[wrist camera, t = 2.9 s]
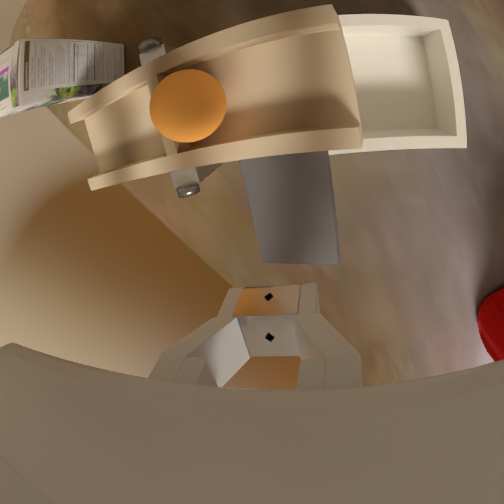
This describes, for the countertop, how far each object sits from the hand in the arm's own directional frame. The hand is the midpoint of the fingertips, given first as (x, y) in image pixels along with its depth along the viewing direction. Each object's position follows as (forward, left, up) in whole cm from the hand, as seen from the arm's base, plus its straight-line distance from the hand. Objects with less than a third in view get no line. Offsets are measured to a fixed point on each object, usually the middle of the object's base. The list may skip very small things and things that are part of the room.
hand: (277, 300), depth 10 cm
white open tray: (-7, +8, -19) cm, 22 cm away
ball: (-7, -4, -7) cm, 11 cm away
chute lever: (-4, -4, -15) cm, 16 cm away
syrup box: (-16, -18, -20) cm, 31 cm away
